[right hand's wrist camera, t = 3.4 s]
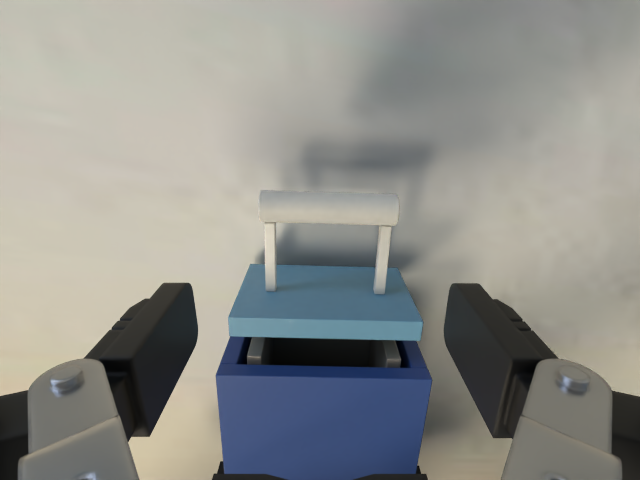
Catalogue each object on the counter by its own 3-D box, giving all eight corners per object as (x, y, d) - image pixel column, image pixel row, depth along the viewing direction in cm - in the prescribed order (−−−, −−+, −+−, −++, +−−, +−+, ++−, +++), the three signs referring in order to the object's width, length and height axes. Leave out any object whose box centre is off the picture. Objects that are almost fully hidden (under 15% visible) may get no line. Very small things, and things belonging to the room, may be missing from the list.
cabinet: (245, 293, 27) (215, 375, 19) (398, 297, 27) (432, 379, 19) (253, 452, 33) (232, 566, 25) (379, 455, 33) (399, 568, 25)
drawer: (246, 176, 23) (220, 204, 17) (407, 181, 23) (440, 211, 17) (256, 427, 30) (241, 511, 24) (378, 429, 30) (394, 513, 24)
